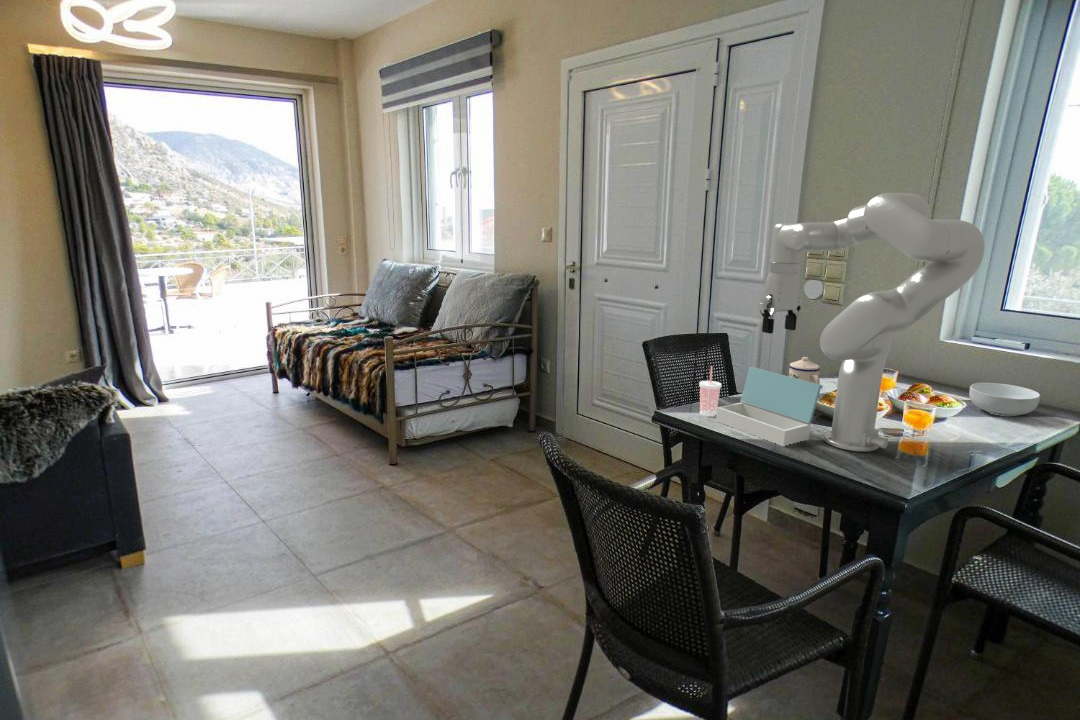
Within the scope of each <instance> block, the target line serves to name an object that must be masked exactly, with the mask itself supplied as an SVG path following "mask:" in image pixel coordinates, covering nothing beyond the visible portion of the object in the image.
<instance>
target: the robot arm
mask: <svg viewBox="0 0 1080 720" xmlns="http://www.w3.org/2000/svg"><path fill="white" fill-rule="evenodd" d="M929 214H930V206H929V203H928V202H927V201H926V200H925V198H924V197H923V196H920V194H919V195H918V194H915V193H911V192H910V193H908V192H883V193H880V194H877V195H875V196H874V197H872V198H871V199H870V200H869V201H868V202H867V203H866V204H863V205H859V206H855V207H854V208H852V209H851V210H850V211H849V213H848V215H847V217H845V218H842V219H839V220H835V221H830V222H829V221H828V222H827V221H826V222H823V221H819V222H818V221H816V222H812V221H811V222H808V221H807V222H799V223H798V222H779V223H776V224H774V225H773V229H772V240H771V253H770V262H769V264H770V265H769V273H768V275H767V277H766V280H765V284H764V288H763V289H764V290H763V294H762V300H761V301H760V302H759V304H758V307H759V309H760V310H759V312H760V314H761V318H762V326H761V327H762V329H761V331H762V333H765V334H769V335H771V334H773V333H774V328H775V327H774V326H775V325H774V324H775V318H774V317H775V315H776V313H777V312H785V313H786V315H785V318H784V319H785V320H784V321H785V322H784V330H789V331H796V328H797V319H798V318H797V317H798V316H799V312H800V310H801V309H802V304H803V301H804V299H803V298H801V297H800V266H801V255H802V253H814V252H815V253H816V252H818V253H819V252H822V253H823V252H833V251H837V250H842V249H847V248H851V247H854V246H857V245H860V244H863V243H865V242H871V241H874V240H878V239H881V240H883V241H885V242H886V243H887V244H888V245H890V246H891V247H893V248H895V249H896V250H897V251H899V252H900V253H902V255H905V256H906V257H908V258H910V259H912V260H914V261H920V262H928V263H927V264H926V265H924V266H921V268H919V269H917V270H916V271H915V272H913V273H912V274H911V275H909V277H907V279H905V280H904V281H902V283H900V284H898V285H897V286H895V287H894V288H892V289H888V290H878V291H872V292H868V293H865V294H863V295H860V296H858V298H856V299H855V300H854V301H852V302H851V303H850V304H849V305H848V306H847V307H846V308H844V310H842V311H841V312H840V313H839V314H837V316H836V317H834V318H833V319H832V320H831V321H830V322H828V324H827V325H826V326H825V327H824V329H823V330H822V332H821V334H820V338H819V346H820V349H821V352H822V353H823V355H825V356H826V357H827V358H829V359H830V360H832V361H838V362H841V365H840V367H839V373H838V378H837V385H836V391H835V392H836V393H835V401H834V408H833V409H834V411H833V417H832V424H831V430H829V431H827V432H825V433H824V435H823V441H825V442H826V443H827V444H829V445H831V446H833V447H834V448H839V449H843V450H847V451H852V452H873V451H876V450H878V449H880V448H882V449H886V448H887V447H888V442H889V439H888V438H887V437H884V436H880V435H879V430H880V429H877V428H875V427H876V421H877V415H878V408H879V407H878V406H879V401H880V393H881V385H882V380H883V373H884V368H885V365H886V361H887V358H888V356H889V352H890V349H891V346H892V333H897V332H902V331H905V330H908V329H910V328H912V327H913V326H914V325H915V324H916V323H918V322H919V321H920V320H922V319H923V318H924V317H925V316H927V315H928V314H929V313H930V312H932V311H933V310H934V309H935V308H936V307H938V306H939V305H940V304H941V303H943V302H944V301H945V300H946V299H948V298H949V297H950V296H951V295H953V294H955V292H957V291H958V290H959V289H961V287H963V286H964V285H966V283H968V282H969V281H970V280H971V278H973V276H974V275H975V274H976V272H977V271H978V270H979V268H980V266H981V264H982V262H983V259H984V255H985V240H984V237H983V233H982V232H981V230H980V229H979V227H977V226H976V225H975V224H973V223H971V222H969V221H964V220H963V219H931V218H929Z"/></svg>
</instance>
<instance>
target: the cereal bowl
mask: <svg viewBox="0 0 1080 720" xmlns="http://www.w3.org/2000/svg"><path fill="white" fill-rule="evenodd" d="M968 392H969V399H970V401H971V402H972V404H973V405H975V406H976V407H977V408H979V409H981V410H983V411H984V410H985V411H987V412H990V413H993V414H998V415H1004V416H1016V415H1018V416H1021V415H1025V414H1029V413H1031V412H1033V411H1035V410H1036V408H1037V407H1038V406H1039V403H1040V399H1041V394H1040V393H1039V392H1037V391H1035V390H1033V389H1030V388H1027V387H1023V386H1018V385H1013V384H1006V383H997V382H976V383H972V384H971V385H970V386H969V391H968ZM985 411H984V412H985ZM987 412H986V413H987ZM1016 417H1017V416H1016Z"/></svg>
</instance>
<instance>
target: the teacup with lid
mask: <svg viewBox="0 0 1080 720" xmlns="http://www.w3.org/2000/svg"><path fill="white" fill-rule="evenodd" d="M788 367H789V371H788V376H789V377H793V378H797V379H800V380H804V381H808V382H812V383H815V384H819V385H821V384H820V383H821V381H820V377H819V373H820V370H821V368H820V365H819V364H817V363H814V362H813V361H811V360H810V359H809V357H808V356H807V357H806V356H803V357H802V358H801V359H799V360H797V361H793V362H791V363H789V365H788Z"/></svg>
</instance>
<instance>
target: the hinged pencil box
mask: <svg viewBox="0 0 1080 720" xmlns="http://www.w3.org/2000/svg"><path fill="white" fill-rule="evenodd" d="M715 417H716V419H715V422H716V421H717V423H719V422H720V423H719V424H722V425H724V424H725V426H727V425H728V426H727V427H730V428H732V427H733V428H732V429H735V430H738V431H741V432H743V433H747V434H749V435H750V436H751V435H752V436H754V437H756V436H757V438H759V437H760V439H762V440H764V439H765V441H767V440H768V442H769V443H772V442H773V444H775V443H776V444H775V445H778V446H780V447H783V446H784V447H787V446H790V445H789V444H791V445H794V444H798V443H801V442H800V441H802V442H805V441H808V439H809V440H810V435H811V434H810V433H811V424H812V423H811V424H810V425H809V424H806V423H803V422H800V421H797V420H794V419H791V418H788V417H785V416H782V415H779V414H776V413H773V412H769V411H766V410H763V409H760V408H757V407H754V406H751V405H748V404H745V403H742V402H736V403H731V404H727V405H722V406H718V407H717V414H716V416H715ZM804 440H805V441H804ZM797 442H798V443H797ZM793 443H794V444H793ZM786 445H787V446H786Z"/></svg>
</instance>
